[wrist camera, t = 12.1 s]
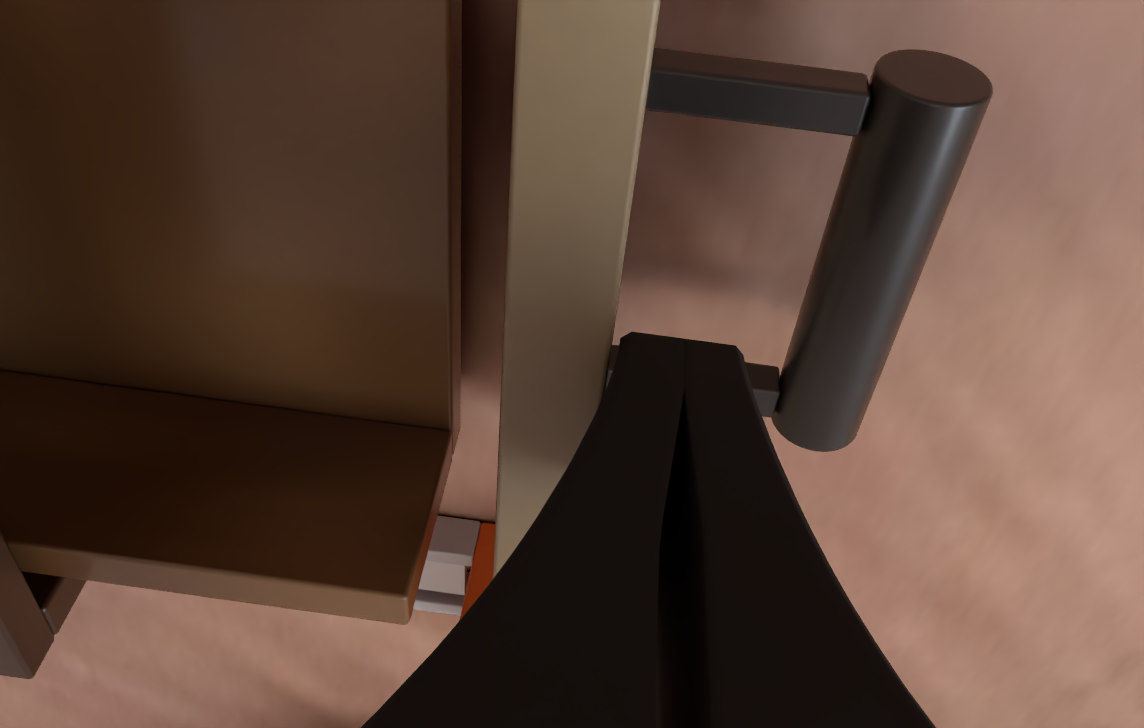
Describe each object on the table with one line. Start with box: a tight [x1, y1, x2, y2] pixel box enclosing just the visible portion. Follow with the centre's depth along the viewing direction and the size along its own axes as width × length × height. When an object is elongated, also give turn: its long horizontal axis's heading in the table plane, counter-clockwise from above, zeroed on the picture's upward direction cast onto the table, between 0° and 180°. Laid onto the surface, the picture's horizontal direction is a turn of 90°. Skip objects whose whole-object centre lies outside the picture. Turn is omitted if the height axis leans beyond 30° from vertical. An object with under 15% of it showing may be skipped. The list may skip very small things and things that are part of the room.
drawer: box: [0, 0, 993, 625], centre depth 14 cm, size 16×12×5 cm
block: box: [413, 516, 495, 621], centre depth 22 cm, size 6×2×3 cm, turn 86°
